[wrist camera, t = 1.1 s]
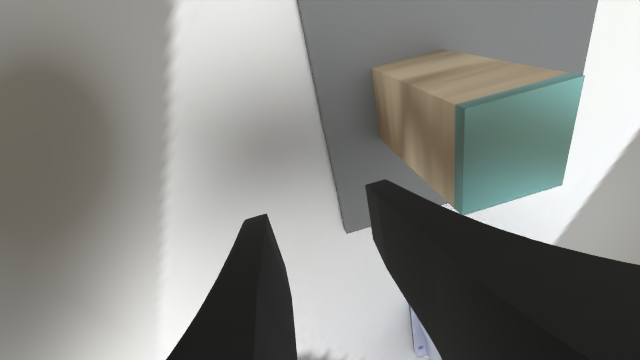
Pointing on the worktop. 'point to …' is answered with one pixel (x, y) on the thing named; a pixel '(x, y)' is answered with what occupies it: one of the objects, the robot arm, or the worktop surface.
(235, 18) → the worktop surface
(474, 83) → the block
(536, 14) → the mat
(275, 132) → the worktop surface
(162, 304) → the worktop surface
